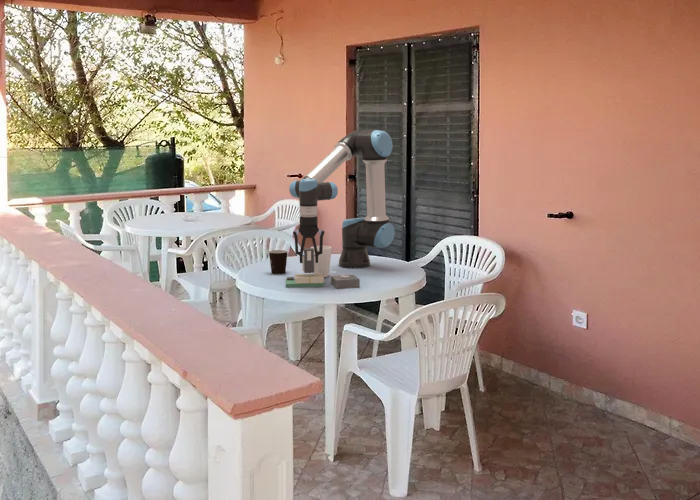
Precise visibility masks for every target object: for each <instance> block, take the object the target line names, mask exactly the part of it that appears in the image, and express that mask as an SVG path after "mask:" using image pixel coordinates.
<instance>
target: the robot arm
mask: <svg viewBox="0 0 700 500" xmlns="http://www.w3.org/2000/svg"><path fill="white" fill-rule="evenodd" d="M333 147H334V148H333V149H332V150H331V151H330V152H329V153H328V154H327V155H325V157H324V158H323V159H321V161H319V162H318V163H317V164H316V165H315V166H314V167H313V168H312V169H310V171H308V173H306V174H305V175H304V176H303V177H302V178H301V179H300V180H293V181H292V182H290V185H289V188H288V190H289V193H290V195H291V197H293V198H296V199H299V205H298V206H299V228H298V229H297V230H293V231H292V234H293V237H294V247H295V248H294V249H295V250H294V252H295V255H297V256H299V263H300V264H302V272H304V248H305V246H306V245H305V244H306V239H311V242H312V245H313V246H314V251H315V255H314V271H316V263H318V255H320V254H322V250H323V246H324V245H323V244H324V242H323V241H324V240H323V239H324V234H325V231H324V230H323V229H322V230H321V229H319V227H318V223H319V222H318V202H319V201H330V200H334V199H336V197H337V196H338V193H339V192H338V191H339V189H338V186H337V184H336V183H334V182H333V181H332V182H330V181H327V182H326V180H327V179H328V178H329V177H330V176H332V174H333V173H334V172H335V171H337V169H339V168H340V167H341V166H342V165H343V164H344V163H345V162H347V161H350V160H351V159H352V158H354V157H358V156H360V157H361V158H362V159H361V160H362V162H363V163H364V164H365V181H366V183H365V186H366V216H365V217H354V218H348V219H343V221H342V226H341V238H342V241H341V242H342V243H341V246H342V250H341V253H340V257H339V260H338V266H339V267H341V268H344V269H364V268H368V267H371V260H370V256H369V253H368V250H367V247H372V248H377V249H380V248H381V249H382V248H384V249H385V248H387V247H389V246H390V245H391V244H392V242H393V241H394V238H395V233H396V231H395V227H394V226H393V224H392V223H390V218H389V216H387V213H386V209H387V208H386V183H385V182H386V181H385V180H386V179H385V178H386V177H385V176H386V175H385V164H386V162H387V161H388V157H389V156H390V155H391V154H392V151H393V141H392V138H391V136H390V135H389V133H388V132H386V131H384V130H379V129H374V130H367V129H366V130H360V129H359V130H358V129H357V130H354V131H352V132H351V133H348V134H347V135H345V136H344V137H342V138H341V139H340V140H339V141H338V142H337V143H335V145H334V146H333ZM299 233H300V234H301V236H302V240H301V245H300V251H299V242H298V241H299V240H298V238H299V237H298V236H299ZM317 234H318V235H319V245H317V242H316V238H315V236H316V235H317ZM313 246H312V247H313ZM317 246H319V251H317Z"/></svg>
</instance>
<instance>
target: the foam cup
mask: <svg viewBox="0 0 700 500" xmlns="http://www.w3.org/2000/svg"><path fill="white" fill-rule="evenodd" d="M316 246H317V251H319V246H320V245H316ZM310 248H314V246H311V247H310ZM332 248H333V247H332V246H330V245H329V246H328V245H323V250H322V254H320V255H318V263H316V271H314V273H313V274H323V277H324V278H326V277H329V275H330V267H331V257H332V252H333V249H332ZM314 255H315V251H314Z"/></svg>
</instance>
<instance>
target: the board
mask: <svg viewBox="0 0 700 500" xmlns="http://www.w3.org/2000/svg"><path fill="white" fill-rule="evenodd" d="M322 287H323V288H324V287H325V282H324V283H295V277H294V276H287V277H286V278H285V288H322Z"/></svg>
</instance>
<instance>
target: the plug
mask: <svg viewBox="0 0 700 500" xmlns="http://www.w3.org/2000/svg"><path fill="white" fill-rule="evenodd" d="M303 255H304V271H303V272H304V273H303V274H314V248H311V247H304V250H303Z"/></svg>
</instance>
